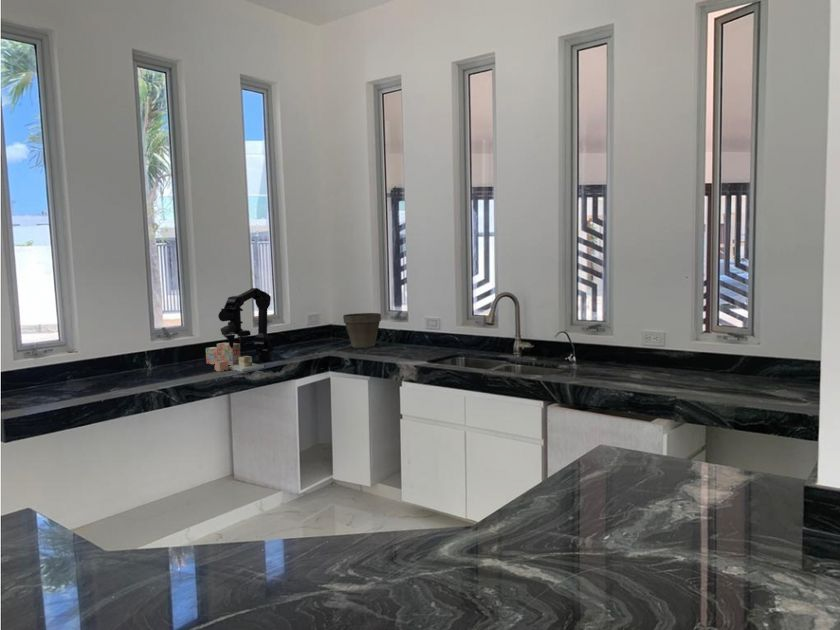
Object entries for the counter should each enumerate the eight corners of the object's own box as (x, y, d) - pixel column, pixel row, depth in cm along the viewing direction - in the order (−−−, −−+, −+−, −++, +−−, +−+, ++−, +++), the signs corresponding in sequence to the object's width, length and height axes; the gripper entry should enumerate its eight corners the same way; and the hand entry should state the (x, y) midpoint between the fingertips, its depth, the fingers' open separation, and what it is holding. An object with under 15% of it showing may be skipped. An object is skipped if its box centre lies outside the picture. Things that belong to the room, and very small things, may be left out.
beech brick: (246, 364, 369) (246, 355, 368) (252, 365, 365) (251, 356, 365) (239, 366, 365) (238, 357, 364) (244, 366, 362) (243, 357, 361)
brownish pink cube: (222, 369, 365) (222, 360, 364) (228, 370, 362) (227, 361, 361) (214, 370, 361) (214, 361, 361) (220, 371, 358) (219, 362, 357)
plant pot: (344, 345, 450) (343, 313, 448) (381, 343, 453) (379, 311, 451) (344, 350, 425) (343, 316, 423) (383, 348, 428) (381, 315, 426)
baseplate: (249, 365, 375) (249, 362, 375) (264, 367, 366) (264, 365, 366) (227, 369, 365) (227, 366, 364) (242, 371, 355) (242, 368, 355)
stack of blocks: (206, 364, 386) (204, 343, 385) (214, 362, 391) (213, 341, 390) (233, 366, 375) (232, 344, 374) (241, 364, 381) (240, 343, 380)
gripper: (212, 320, 361) (213, 349, 362) (232, 321, 349) (234, 351, 350) (230, 318, 370) (231, 346, 371) (250, 320, 358) (251, 348, 359)
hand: (236, 348), depth 363 cm, fingers open, 9 cm apart
